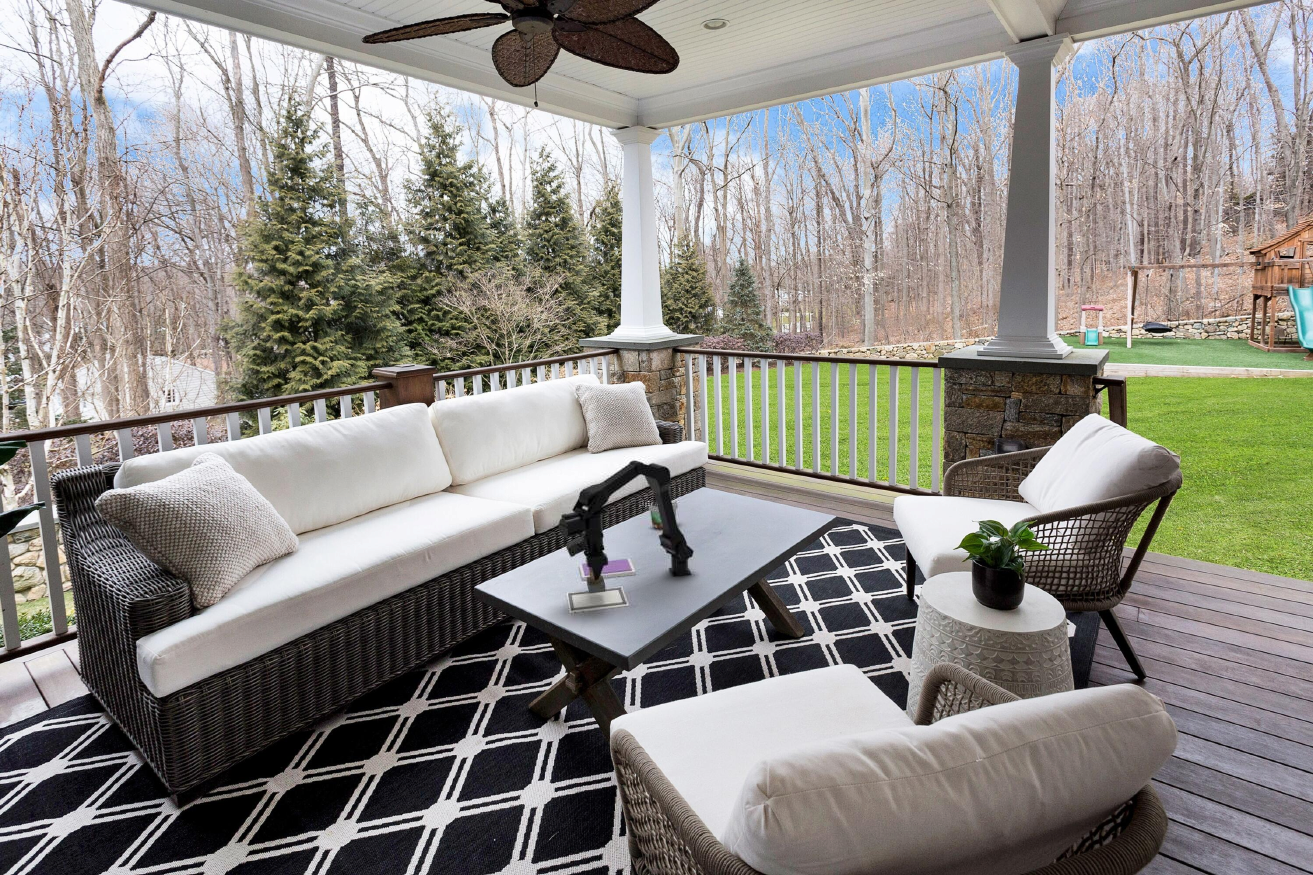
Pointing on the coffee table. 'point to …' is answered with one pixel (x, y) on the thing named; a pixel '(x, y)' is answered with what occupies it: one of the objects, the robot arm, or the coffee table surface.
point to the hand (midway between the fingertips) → (595, 577)
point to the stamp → (595, 583)
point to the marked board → (596, 600)
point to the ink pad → (610, 569)
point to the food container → (656, 516)
